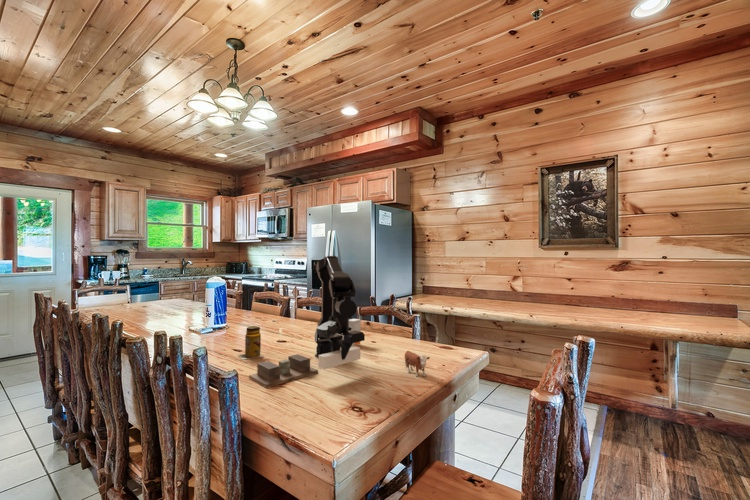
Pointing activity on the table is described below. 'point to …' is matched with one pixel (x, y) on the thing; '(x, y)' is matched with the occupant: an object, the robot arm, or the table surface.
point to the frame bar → (338, 358)
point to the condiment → (252, 343)
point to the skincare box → (355, 328)
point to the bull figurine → (415, 362)
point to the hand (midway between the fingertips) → (340, 358)
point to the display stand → (282, 371)
